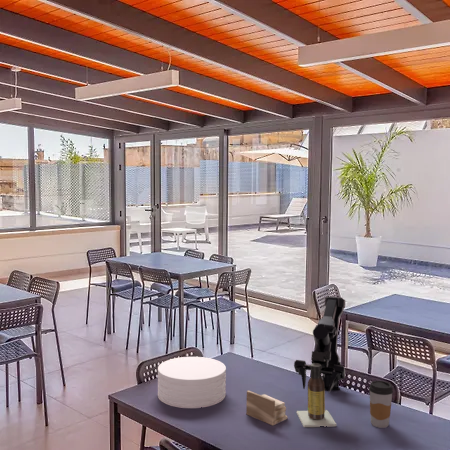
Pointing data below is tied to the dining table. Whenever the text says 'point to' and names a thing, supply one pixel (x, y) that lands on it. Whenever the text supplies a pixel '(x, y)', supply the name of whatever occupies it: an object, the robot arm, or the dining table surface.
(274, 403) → the offcut rack
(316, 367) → the sauce bottle
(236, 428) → the dining table surface
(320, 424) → the cream tile board
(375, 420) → the coffee cup
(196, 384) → the plate stack
